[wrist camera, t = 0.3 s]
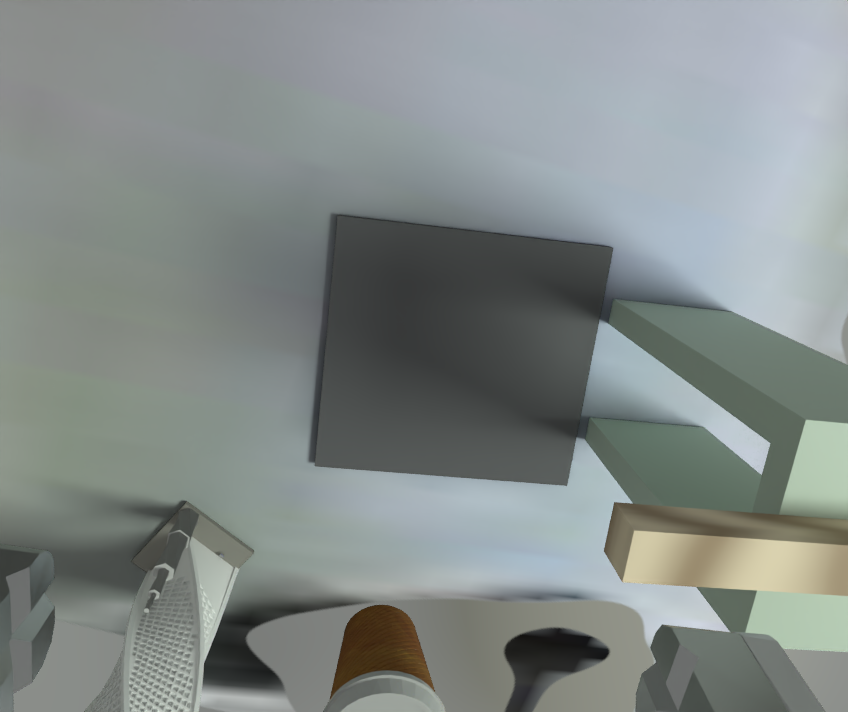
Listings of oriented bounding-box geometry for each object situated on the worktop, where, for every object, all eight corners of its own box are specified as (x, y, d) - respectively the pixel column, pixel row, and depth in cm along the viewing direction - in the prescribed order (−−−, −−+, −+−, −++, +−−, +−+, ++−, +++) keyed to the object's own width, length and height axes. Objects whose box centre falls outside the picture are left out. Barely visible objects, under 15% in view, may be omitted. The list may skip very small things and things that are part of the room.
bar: (603, 551, 34) (622, 582, 32) (614, 502, 33) (634, 530, 31) (974, 575, 36) (1017, 606, 34) (990, 530, 35) (1036, 558, 33)
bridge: (613, 298, 58) (805, 419, 33) (732, 311, 59) (1005, 438, 34) (585, 439, 61) (741, 646, 36) (698, 449, 62) (925, 655, 37)
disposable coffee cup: (455, 634, 65) (476, 740, 54) (376, 698, 67) (380, 814, 55) (383, 567, 63) (388, 663, 51) (302, 635, 64) (290, 743, 53)
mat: (337, 214, 54) (337, 215, 53) (610, 247, 56) (613, 248, 56) (315, 463, 59) (314, 466, 59) (565, 482, 62) (566, 485, 61)
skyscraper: (267, 560, 62) (198, 884, 35) (205, 623, 63) (92, 983, 36) (186, 501, 59) (47, 797, 33) (124, 567, 61) (-61, 905, 34)
